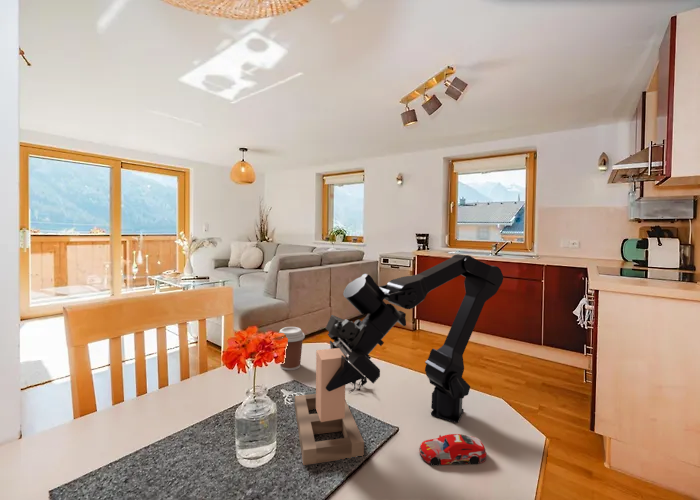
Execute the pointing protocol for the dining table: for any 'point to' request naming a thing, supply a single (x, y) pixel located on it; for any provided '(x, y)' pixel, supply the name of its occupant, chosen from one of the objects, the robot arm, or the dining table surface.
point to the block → (327, 402)
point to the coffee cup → (293, 347)
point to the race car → (453, 450)
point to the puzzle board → (312, 425)
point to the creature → (359, 383)
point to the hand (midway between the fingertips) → (323, 383)
